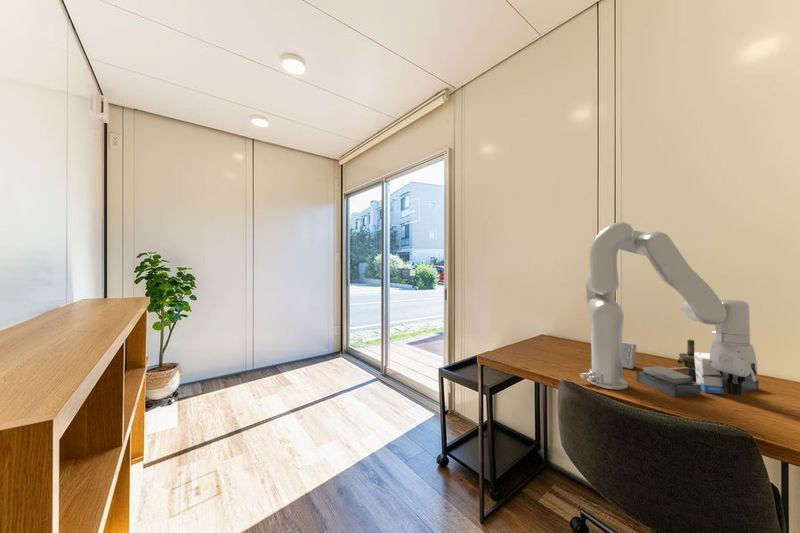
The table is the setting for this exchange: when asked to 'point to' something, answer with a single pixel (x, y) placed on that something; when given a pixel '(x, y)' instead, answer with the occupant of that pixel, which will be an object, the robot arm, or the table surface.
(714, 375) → the ink box
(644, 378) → the grey case and lid
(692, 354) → the industrial component
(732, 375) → the robot arm
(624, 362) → the digital clock
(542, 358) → the table surface
